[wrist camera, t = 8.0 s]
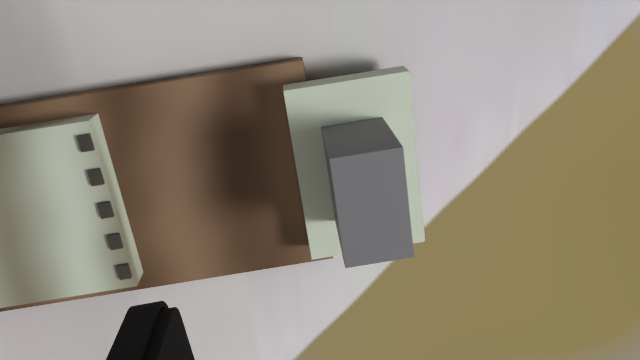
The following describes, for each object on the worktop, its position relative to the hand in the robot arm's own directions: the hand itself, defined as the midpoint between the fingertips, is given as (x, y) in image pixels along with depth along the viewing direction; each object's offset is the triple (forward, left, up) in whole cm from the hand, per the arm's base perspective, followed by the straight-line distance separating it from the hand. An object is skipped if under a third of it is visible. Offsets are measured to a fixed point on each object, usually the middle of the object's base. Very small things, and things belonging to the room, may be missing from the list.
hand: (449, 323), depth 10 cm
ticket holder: (+12, +4, -21) cm, 25 cm away
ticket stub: (0, +4, -20) cm, 21 cm away
